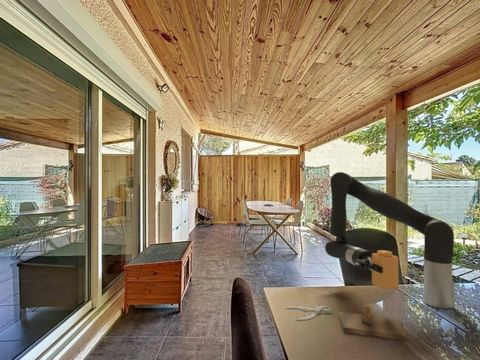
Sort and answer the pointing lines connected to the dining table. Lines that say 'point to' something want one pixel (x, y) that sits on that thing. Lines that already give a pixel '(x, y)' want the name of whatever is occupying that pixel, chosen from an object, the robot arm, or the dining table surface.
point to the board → (371, 325)
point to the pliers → (316, 311)
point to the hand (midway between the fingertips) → (389, 269)
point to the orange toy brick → (385, 270)
